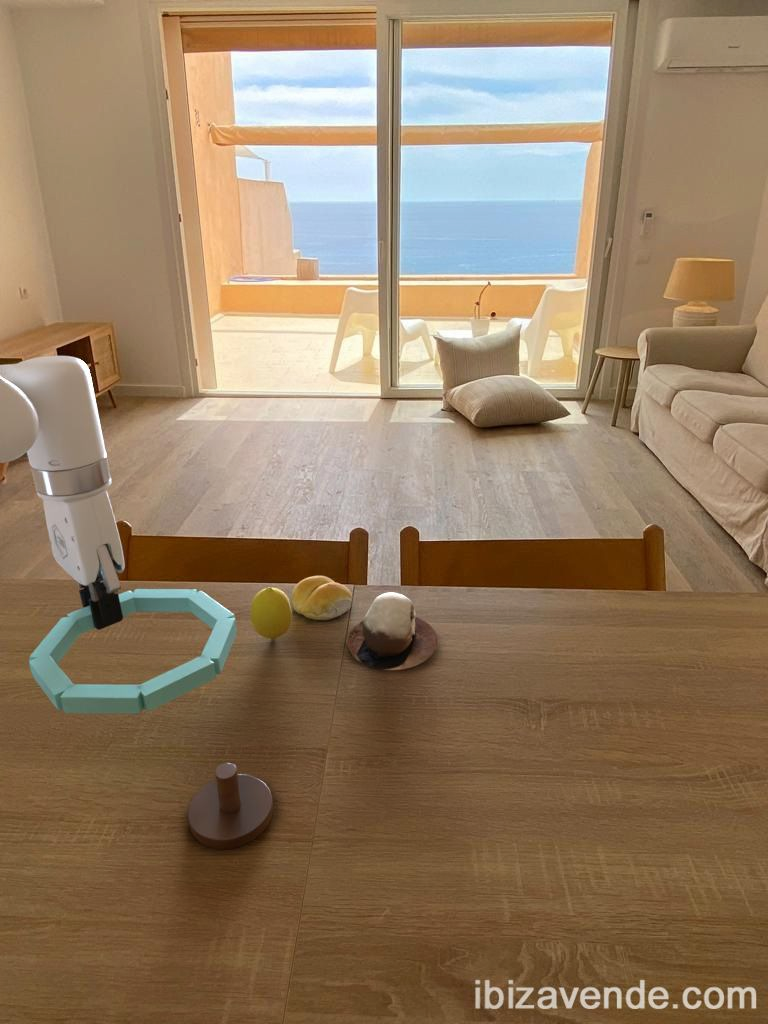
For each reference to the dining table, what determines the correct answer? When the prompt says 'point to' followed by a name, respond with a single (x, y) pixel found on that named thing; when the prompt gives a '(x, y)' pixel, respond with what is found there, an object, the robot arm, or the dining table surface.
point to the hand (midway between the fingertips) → (104, 618)
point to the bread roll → (321, 598)
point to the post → (230, 809)
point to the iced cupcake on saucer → (392, 635)
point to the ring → (152, 691)
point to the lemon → (271, 613)
